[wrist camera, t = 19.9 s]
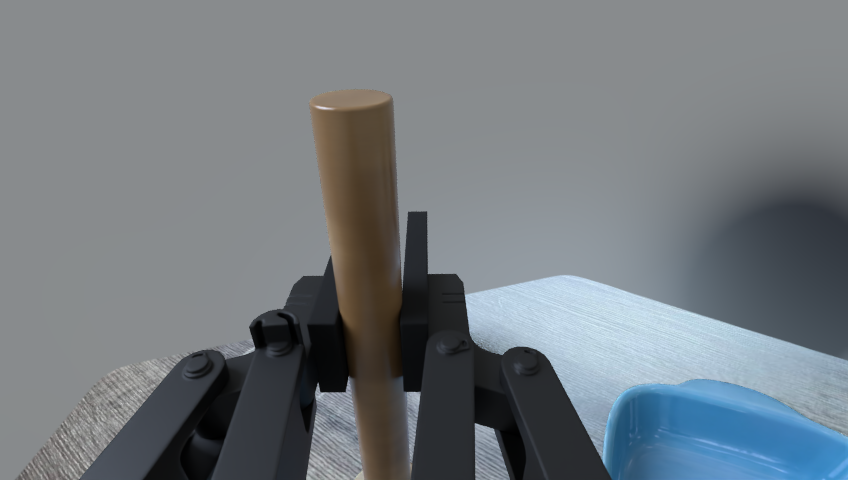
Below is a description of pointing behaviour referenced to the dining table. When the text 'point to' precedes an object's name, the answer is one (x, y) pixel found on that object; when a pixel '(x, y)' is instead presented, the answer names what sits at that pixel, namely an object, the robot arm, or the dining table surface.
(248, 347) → the dining table surface
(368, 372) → the tan long rod
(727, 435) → the casserole dish
